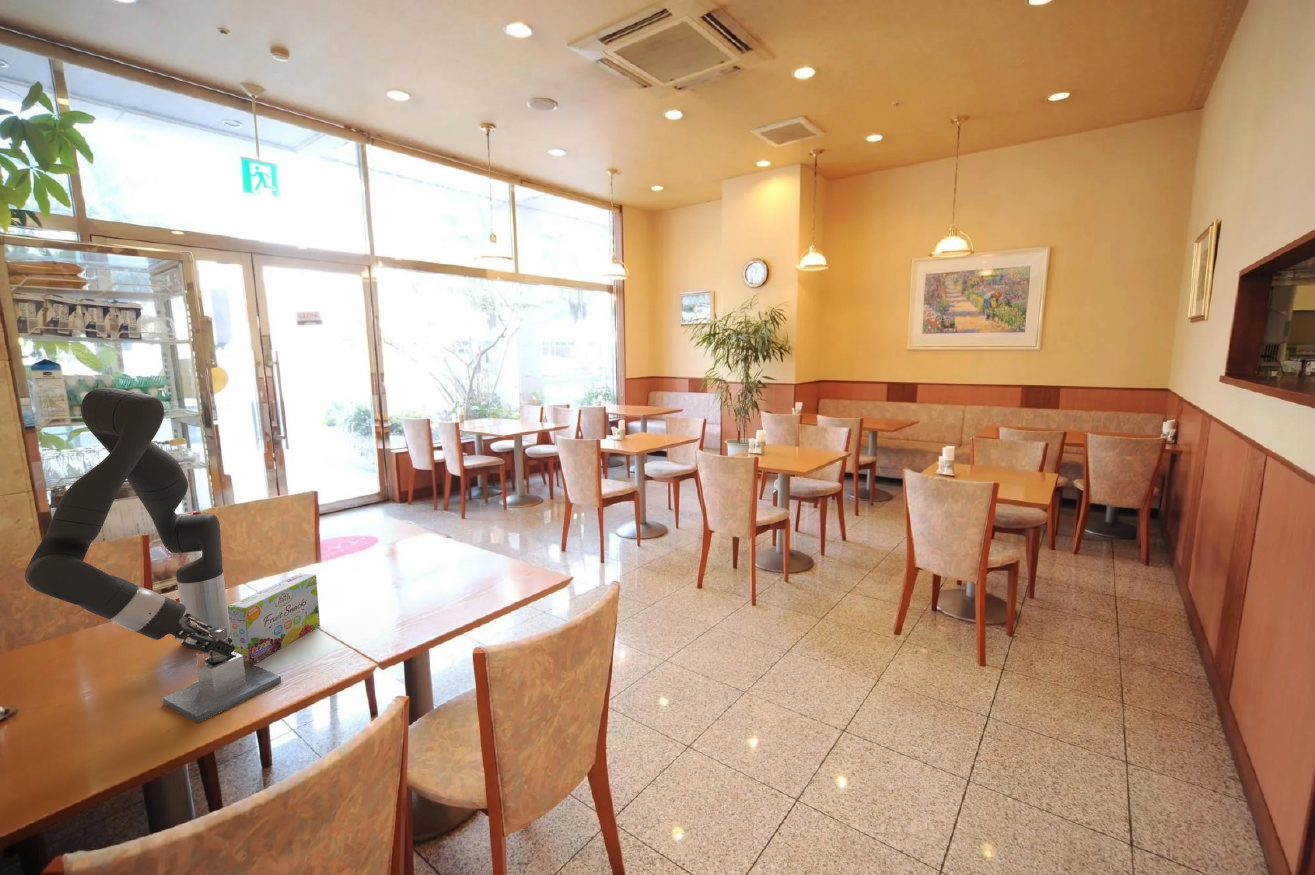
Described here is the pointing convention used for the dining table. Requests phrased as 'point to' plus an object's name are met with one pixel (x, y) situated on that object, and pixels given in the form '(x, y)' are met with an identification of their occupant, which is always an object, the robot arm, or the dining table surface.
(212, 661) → the grey round-topped cylinder
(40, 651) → the dining table surface
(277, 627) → the snack box
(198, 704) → the grey square socket base
